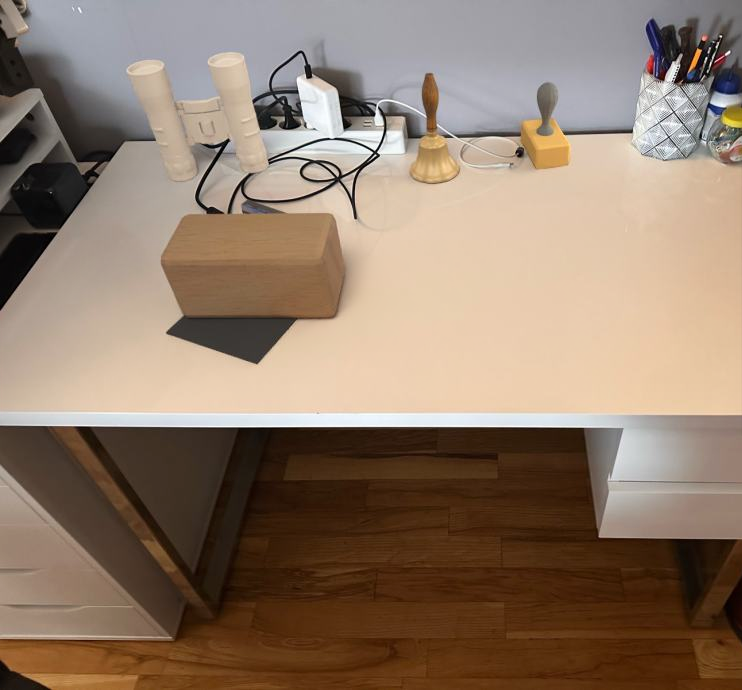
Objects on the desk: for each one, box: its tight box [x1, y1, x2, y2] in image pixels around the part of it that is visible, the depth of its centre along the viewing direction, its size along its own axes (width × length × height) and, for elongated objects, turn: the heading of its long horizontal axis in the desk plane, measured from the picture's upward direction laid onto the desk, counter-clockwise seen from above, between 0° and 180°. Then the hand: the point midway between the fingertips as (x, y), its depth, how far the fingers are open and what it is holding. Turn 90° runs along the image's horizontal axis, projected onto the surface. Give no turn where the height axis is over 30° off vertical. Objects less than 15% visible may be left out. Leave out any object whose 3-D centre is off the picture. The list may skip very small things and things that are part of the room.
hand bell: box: [408, 72, 460, 184], centre depth 106 cm, size 8×8×16 cm
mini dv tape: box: [240, 199, 286, 214], centre depth 96 cm, size 8×2×6 cm, turn 60°
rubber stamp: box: [520, 81, 571, 170], centre depth 110 cm, size 10×6×12 cm, turn 11°
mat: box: [165, 315, 299, 365], centre depth 87 cm, size 12×14×1 cm
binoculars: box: [126, 51, 269, 182], centre depth 107 cm, size 17×5×18 cm, turn 100°
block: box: [160, 212, 346, 318], centre depth 86 cm, size 10×10×20 cm
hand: (16, 90), depth 66 cm, fingers closed
